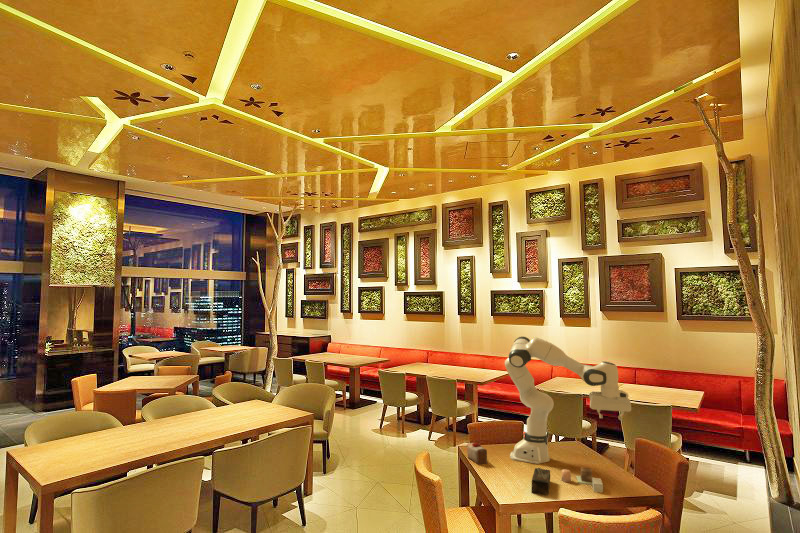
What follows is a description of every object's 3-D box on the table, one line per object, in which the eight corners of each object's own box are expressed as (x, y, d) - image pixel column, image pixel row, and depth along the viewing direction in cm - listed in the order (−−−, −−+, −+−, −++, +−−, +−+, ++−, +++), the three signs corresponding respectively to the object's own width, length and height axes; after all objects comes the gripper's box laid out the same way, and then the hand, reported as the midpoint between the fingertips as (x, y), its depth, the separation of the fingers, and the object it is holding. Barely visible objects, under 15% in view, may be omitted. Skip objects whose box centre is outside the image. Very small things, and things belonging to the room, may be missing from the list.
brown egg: (561, 482, 230) (561, 471, 230) (561, 478, 234) (561, 468, 234) (571, 483, 228) (570, 472, 229) (570, 479, 232) (570, 469, 233)
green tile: (577, 483, 228) (577, 481, 228) (576, 476, 237) (576, 475, 237) (597, 485, 226) (597, 484, 226) (594, 478, 234) (594, 477, 234)
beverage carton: (550, 481, 230) (550, 468, 231) (548, 496, 212) (548, 482, 213) (534, 479, 233) (534, 466, 234) (531, 494, 215) (530, 479, 216)
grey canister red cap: (465, 457, 265) (465, 440, 266) (476, 456, 268) (476, 438, 268) (477, 465, 252) (477, 447, 253) (489, 463, 255) (489, 445, 256)
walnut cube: (581, 480, 229) (581, 470, 230) (580, 477, 234) (580, 467, 235) (592, 482, 228) (592, 471, 228) (591, 478, 233) (590, 468, 233)
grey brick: (603, 493, 217) (602, 484, 217) (594, 492, 218) (593, 483, 218) (600, 486, 224) (600, 478, 225) (592, 485, 225) (591, 477, 226)
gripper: (589, 392, 243) (590, 418, 242) (631, 394, 237) (632, 421, 236) (588, 390, 249) (588, 415, 248) (629, 392, 243) (630, 418, 242)
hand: (610, 418), depth 242 cm, fingers open, 8 cm apart
